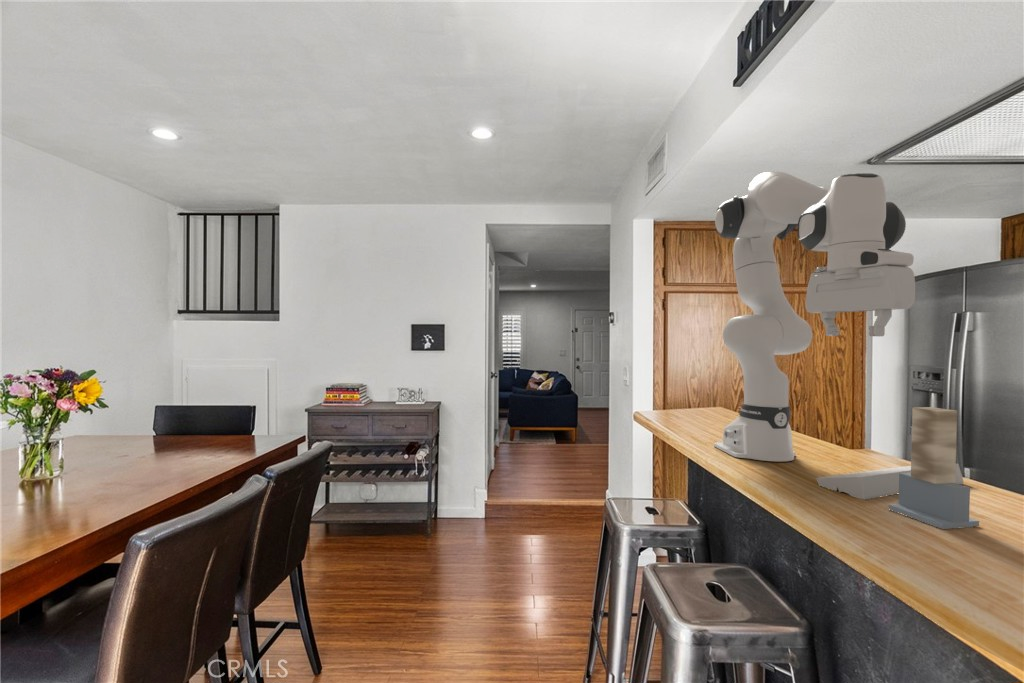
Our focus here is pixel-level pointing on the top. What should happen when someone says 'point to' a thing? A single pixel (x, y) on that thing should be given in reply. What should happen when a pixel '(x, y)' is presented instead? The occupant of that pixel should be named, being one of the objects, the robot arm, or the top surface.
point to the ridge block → (934, 502)
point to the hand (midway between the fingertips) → (853, 336)
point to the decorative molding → (871, 482)
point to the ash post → (934, 444)
